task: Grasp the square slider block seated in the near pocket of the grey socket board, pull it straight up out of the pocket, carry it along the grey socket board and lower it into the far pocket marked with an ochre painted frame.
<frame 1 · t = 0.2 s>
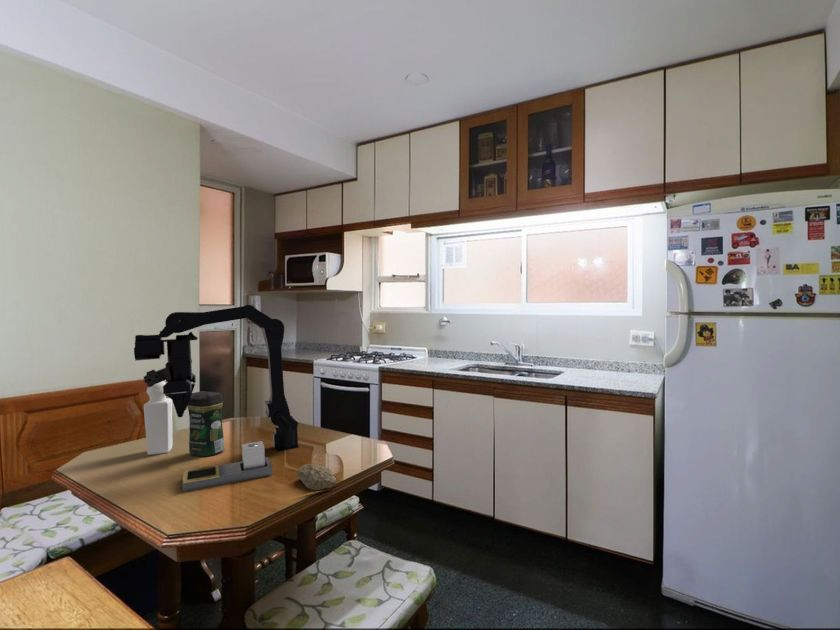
hand: (182, 413, 121), 14 cm above the table, fingers open, 9 cm apart
white bottle: (160, 451, 134), on the table
square slider block: (254, 472, 112), resting on grey socket board
coffee jar: (207, 453, 131), on the table
grey socket board: (228, 478, 110), on the table
rock: (318, 485, 105), on the table
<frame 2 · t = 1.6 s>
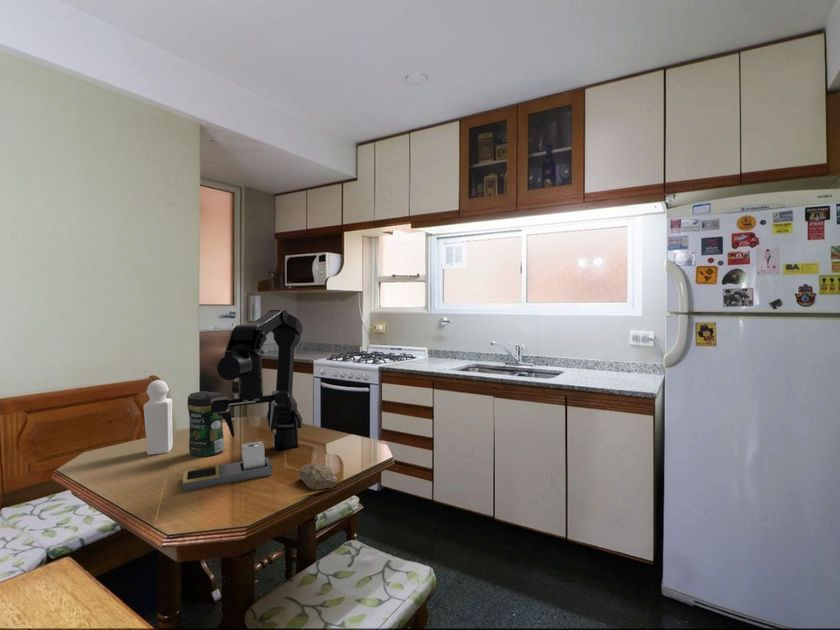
hand: (252, 433, 112), 10 cm above the table, fingers open, 9 cm apart
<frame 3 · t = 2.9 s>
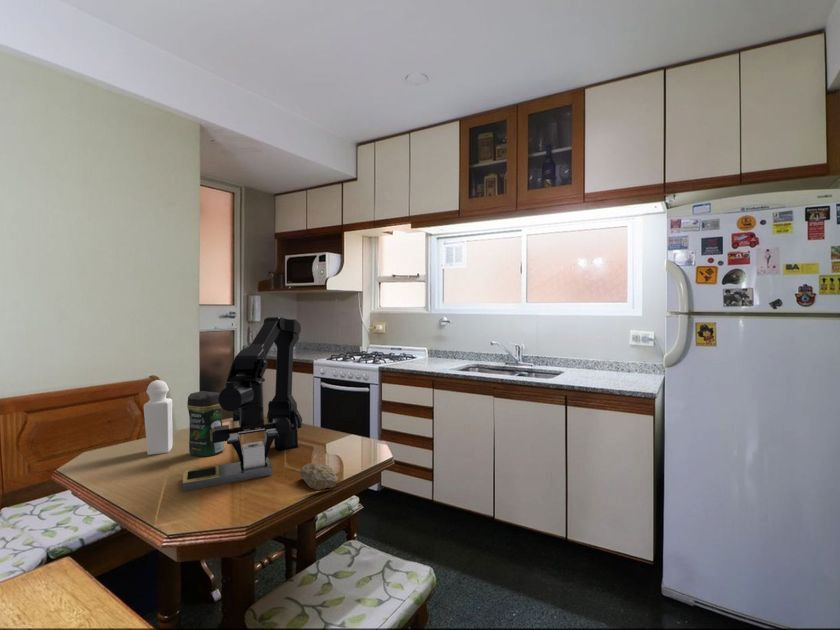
hand: (253, 462, 112), 3 cm above the table, fingers closed on square slider block, 5 cm apart
square slider block: (254, 472, 112), resting on grey socket board, touching gripper
everything else where it was.
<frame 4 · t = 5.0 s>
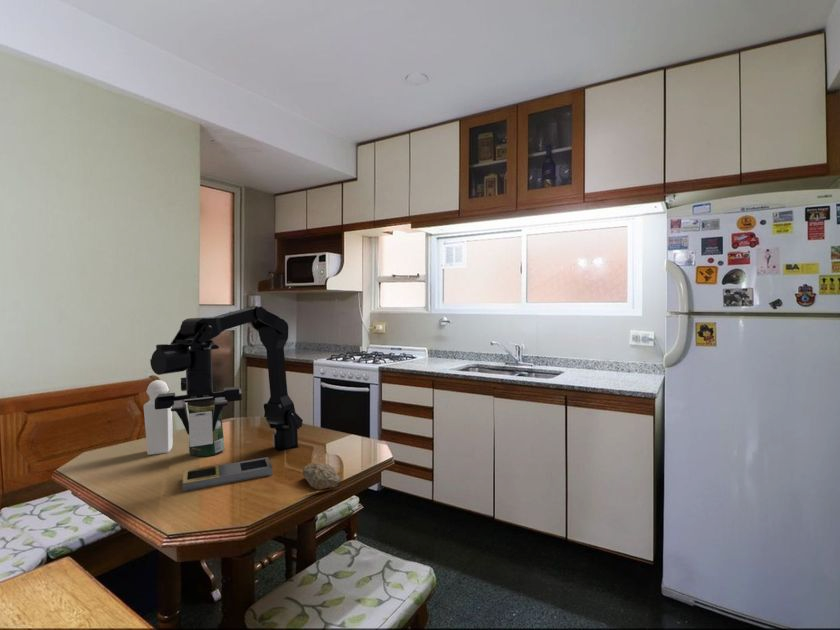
hand: (201, 432, 107), 13 cm above the table, fingers closed on square slider block, 5 cm apart
square slider block: (201, 442, 107), point 10 cm above the table, touching gripper
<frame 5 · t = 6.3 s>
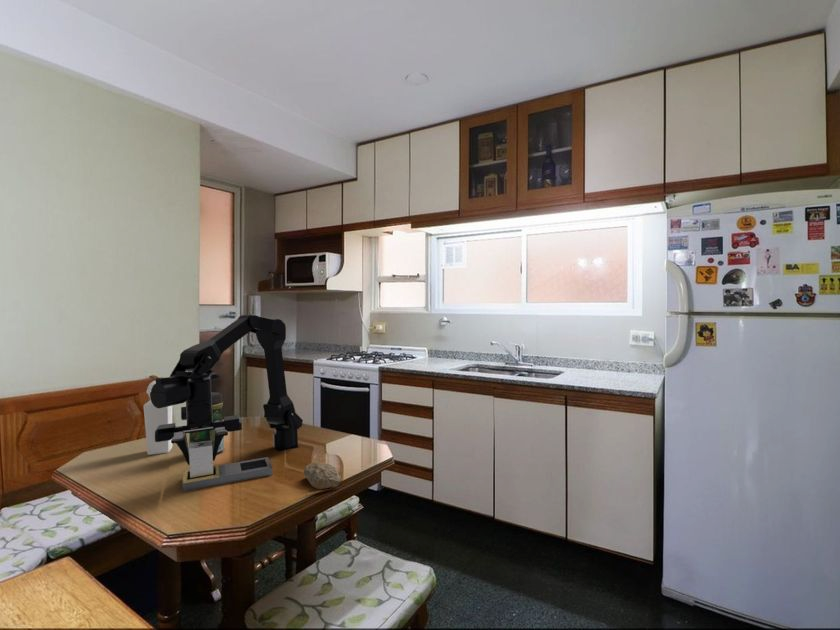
hand: (201, 462, 107), 5 cm above the table, fingers closed on square slider block, 5 cm apart
square slider block: (202, 472, 107), point 3 cm above the table, touching gripper
when the fingers open (4 cm above the table, at t = 7.4 s): square slider block stays where it is, resting on grey socket board.
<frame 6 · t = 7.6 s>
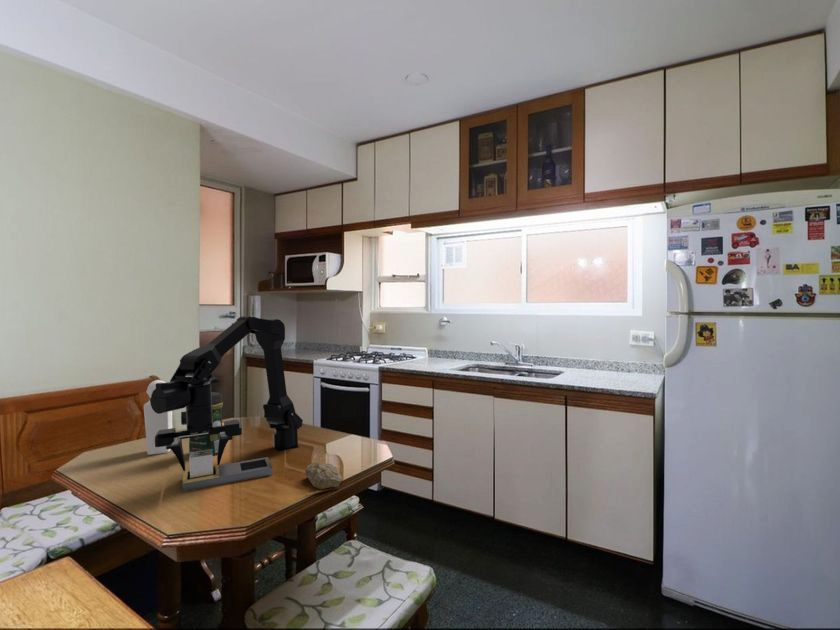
hand: (201, 467, 107), 4 cm above the table, fingers open, 7 cm apart
square slider block: (202, 481, 107), resting on grey socket board
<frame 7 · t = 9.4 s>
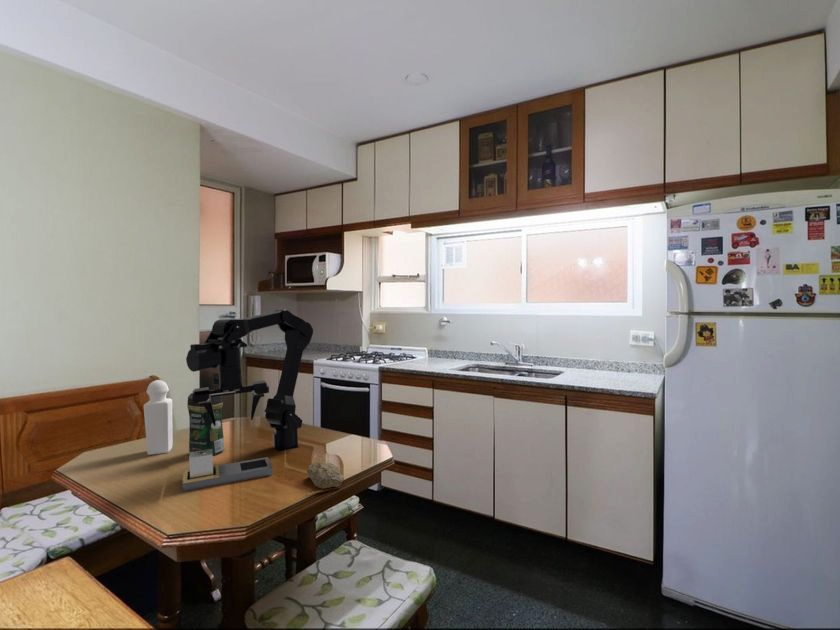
hand: (233, 422, 118), 12 cm above the table, fingers open, 9 cm apart
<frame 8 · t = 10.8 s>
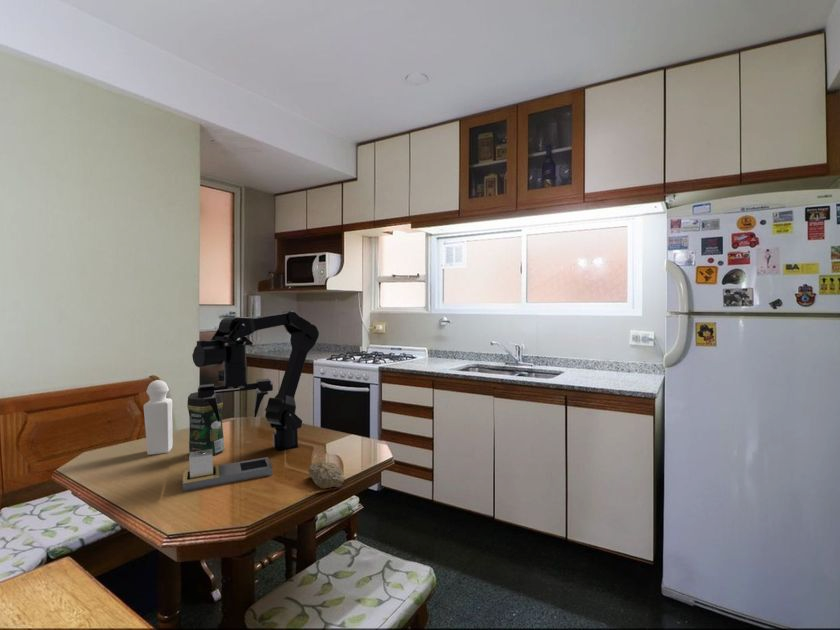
hand: (237, 419, 120), 13 cm above the table, fingers open, 9 cm apart
at the end: square slider block 0.0 cm from the target spot on the grey socket board, point 0.5 cm above the grey socket board's base; square slider block tilted 0°; the gripper is holding nothing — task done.
